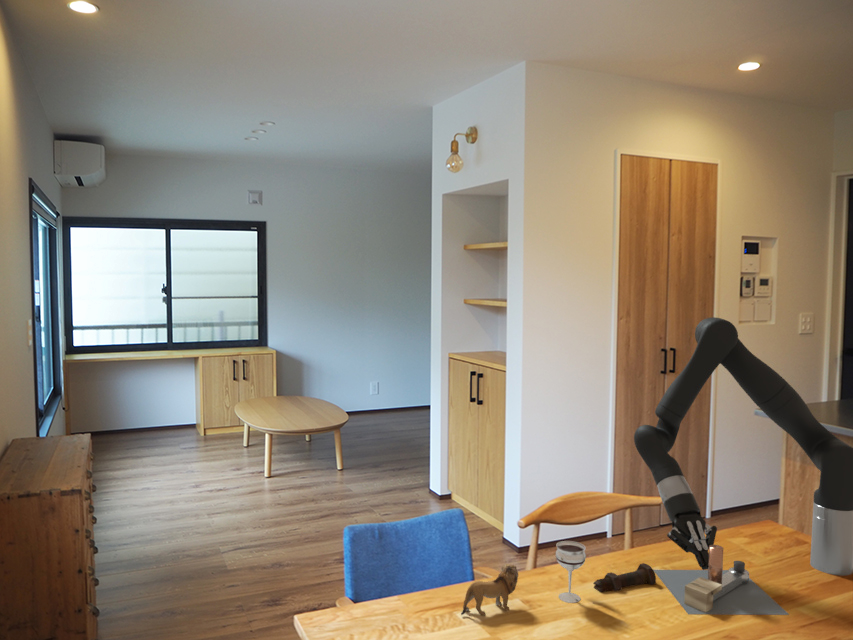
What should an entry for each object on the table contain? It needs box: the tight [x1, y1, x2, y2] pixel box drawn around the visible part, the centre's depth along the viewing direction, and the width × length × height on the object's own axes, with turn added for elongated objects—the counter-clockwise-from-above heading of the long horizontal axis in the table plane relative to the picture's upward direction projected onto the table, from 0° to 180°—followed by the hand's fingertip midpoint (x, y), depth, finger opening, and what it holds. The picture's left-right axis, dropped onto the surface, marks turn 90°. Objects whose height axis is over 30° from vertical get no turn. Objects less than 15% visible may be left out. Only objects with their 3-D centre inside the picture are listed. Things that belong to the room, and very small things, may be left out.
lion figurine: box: [460, 563, 519, 616], centre depth 150 cm, size 15×5×9 cm, turn 120°
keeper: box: [684, 577, 722, 612], centre depth 151 cm, size 7×5×4 cm
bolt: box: [593, 562, 657, 593], centre depth 160 cm, size 6×5×15 cm
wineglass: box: [555, 540, 587, 604], centre depth 155 cm, size 7×7×12 cm
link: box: [707, 544, 750, 601], centre depth 158 cm, size 18×4×11 cm, turn 130°
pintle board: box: [653, 560, 790, 616], centre depth 157 cm, size 22×22×6 cm
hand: (707, 568), depth 157 cm, fingers closed
